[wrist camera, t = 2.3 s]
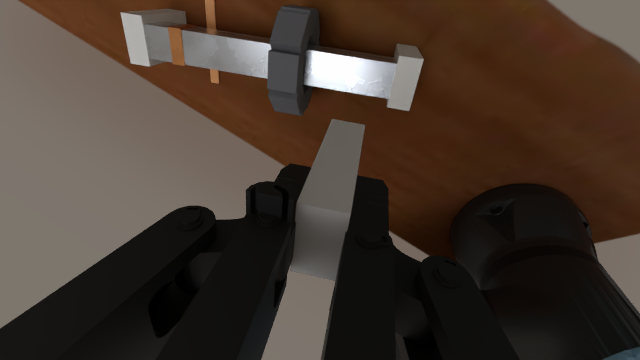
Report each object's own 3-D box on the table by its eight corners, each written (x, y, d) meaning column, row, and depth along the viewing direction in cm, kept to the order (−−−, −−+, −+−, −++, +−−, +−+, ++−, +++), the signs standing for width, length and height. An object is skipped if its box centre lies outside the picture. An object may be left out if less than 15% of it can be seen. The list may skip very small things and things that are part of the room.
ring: (323, 7, 30) (302, 12, 23) (313, 97, 35) (293, 127, 27) (298, 3, 30) (269, 7, 23) (292, 94, 35) (266, 122, 28)
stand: (424, 15, 30) (434, 21, 24) (398, 114, 35) (401, 139, 29) (164, -22, 32) (113, -25, 26) (176, 75, 38) (136, 91, 32)
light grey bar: (407, 58, 28) (409, 65, 26) (398, 92, 30) (399, 102, 27) (155, 18, 31) (133, 21, 28) (160, 52, 32) (139, 58, 30)
